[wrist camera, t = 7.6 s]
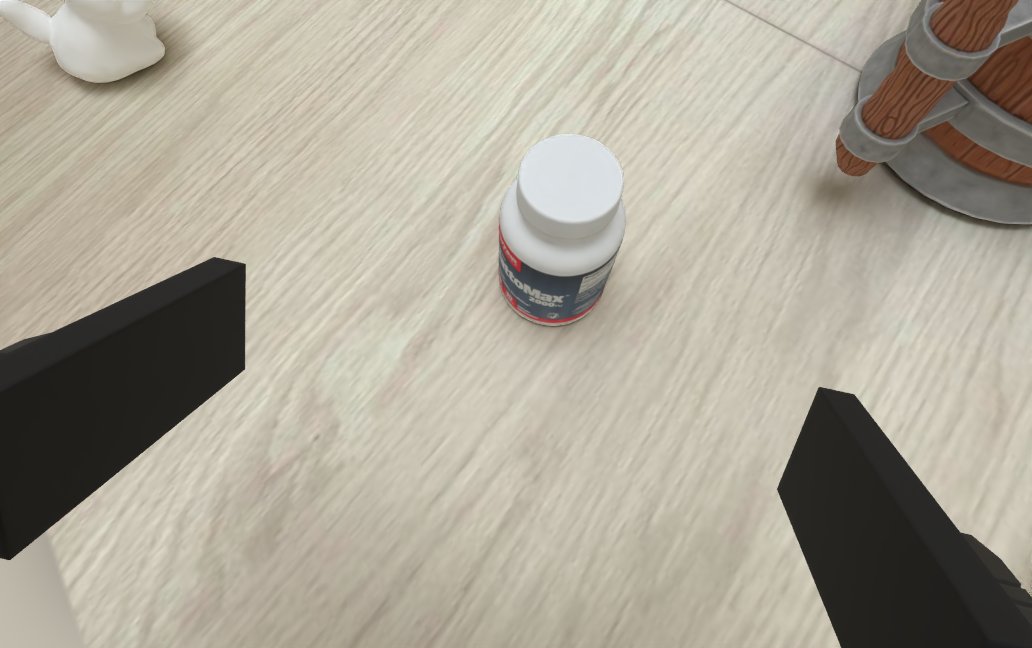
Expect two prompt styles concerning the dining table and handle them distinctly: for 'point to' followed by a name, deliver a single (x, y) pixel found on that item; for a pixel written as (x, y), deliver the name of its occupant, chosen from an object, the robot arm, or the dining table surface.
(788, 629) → the dining table surface
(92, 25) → the figurine
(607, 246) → the pill bottle
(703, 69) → the dining table surface
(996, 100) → the mug
